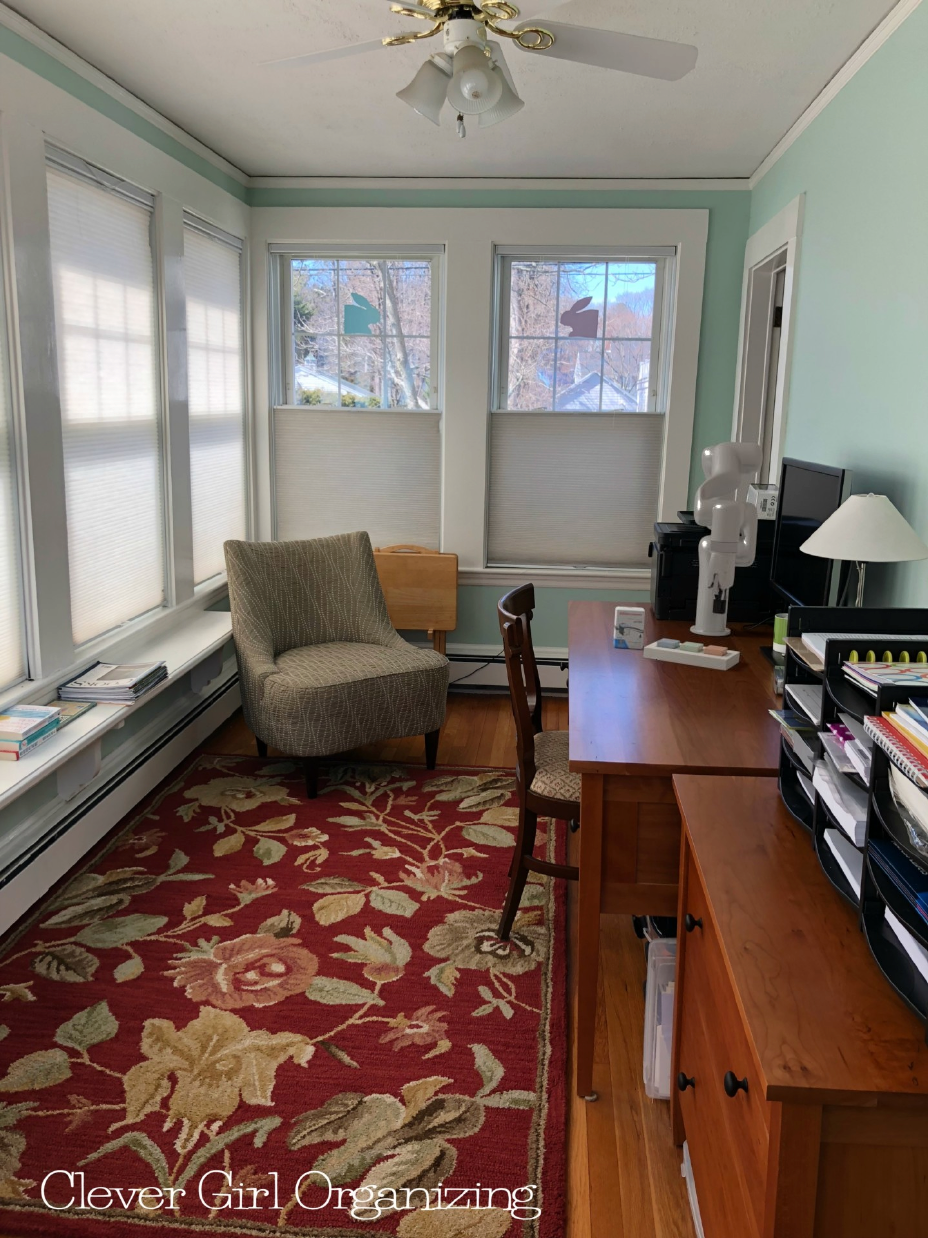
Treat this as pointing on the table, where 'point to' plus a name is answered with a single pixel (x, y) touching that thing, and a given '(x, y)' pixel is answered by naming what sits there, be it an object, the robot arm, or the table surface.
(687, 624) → the table surface
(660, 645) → the slate button
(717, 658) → the button panel
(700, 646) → the sage button
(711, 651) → the terracotta button
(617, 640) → the ink box
